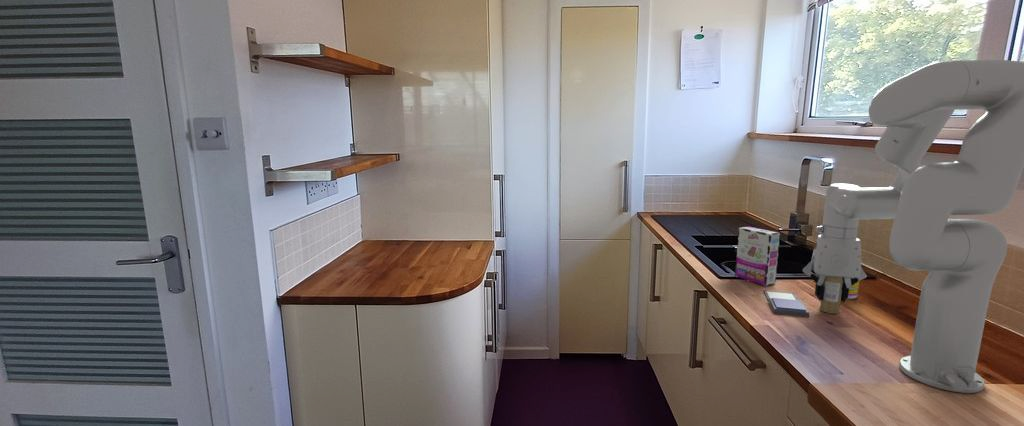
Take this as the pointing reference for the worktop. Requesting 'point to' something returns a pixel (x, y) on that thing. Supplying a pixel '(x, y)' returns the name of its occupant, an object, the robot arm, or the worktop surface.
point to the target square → (779, 295)
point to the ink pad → (788, 307)
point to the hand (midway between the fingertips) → (830, 298)
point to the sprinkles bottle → (831, 294)
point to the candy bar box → (757, 255)
